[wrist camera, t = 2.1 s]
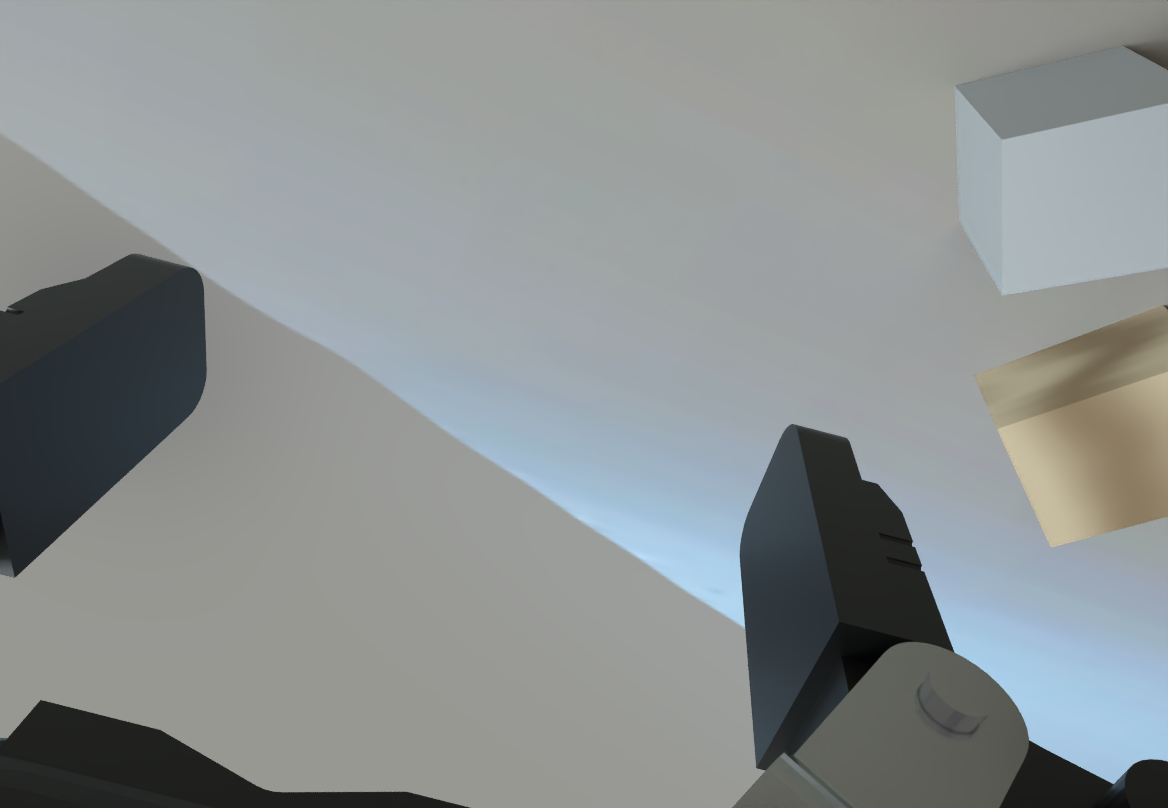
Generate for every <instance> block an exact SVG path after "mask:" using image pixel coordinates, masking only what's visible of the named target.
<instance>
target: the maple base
mask: <svg viewBox="0 0 1168 808" xmlns="http://www.w3.org/2000/svg"><path fill="white" fill-rule="evenodd" d="M974 377H975V379H976V382H977V384H978V386H979V388H980V391H981V393H982V395H983V398H984V400H985V402H986V405H987V407H988V409H989V411H990V414H991V416H992V418H993V421H994V423H995V425H996V428H997V430H998V432H999V434H1000V436H1001V439H1002V441H1003V443H1004V445H1005V447H1006V450H1007V452H1008V454H1009V456H1010V458H1011V461H1012V463H1013V465H1014V467H1015V469H1016V472H1017V474H1018V476H1019V478H1020V480H1021V483H1022V485H1023V487H1024V489H1025V491H1026V494H1027V496H1028V498H1029V500H1030V502H1031V505H1032V507H1033V509H1034V511H1035V513H1036V516H1037V518H1038V520H1039V522H1040V524H1041V527H1042V529H1043V531H1044V533H1045V535H1046V538H1047V540H1048V542H1049V544H1050V547H1055V546H1059V545H1063V544H1066V543H1070V542H1074V541H1078V540H1081V539H1085V538H1089V537H1093V536H1096V535H1100V534H1104V533H1107V532H1111V531H1115V530H1119V529H1122V528H1126V527H1130V526H1134V525H1137V524H1141V523H1145V522H1149V521H1152V520H1156V519H1160V518H1164V517H1167V516H1168V310H1167V309H1166V308H1165V307H1164V305H1162V306H1160V307H1157V308H1154V309H1152V310H1149V311H1146V312H1144V313H1141V314H1138V315H1135V316H1133V317H1130V318H1127V319H1125V320H1122V321H1119V322H1117V323H1114V324H1111V325H1109V326H1106V327H1103V328H1100V329H1098V330H1095V331H1092V332H1090V333H1087V334H1084V335H1082V336H1079V337H1076V338H1073V339H1071V340H1068V341H1065V342H1063V343H1060V344H1057V345H1055V346H1052V347H1049V348H1046V349H1044V350H1041V351H1038V352H1036V353H1033V354H1030V355H1028V356H1025V357H1022V358H1020V359H1017V360H1014V361H1011V362H1009V363H1006V364H1003V365H1001V366H998V367H995V368H993V369H990V370H987V371H984V372H982V373H979V374H976V375H974Z"/></svg>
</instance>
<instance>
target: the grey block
mask: <svg viewBox="0 0 1168 808" xmlns="http://www.w3.org/2000/svg"><path fill="white" fill-rule="evenodd" d="M955 106H956V136H957V166H958V195H959V222H960V223H961V225H962V227H963V228H964V230H965V232H966V234H967V235H968V237H969V239H970V241H971V242H972V244H973V246H974V247H975V249H976V251H977V253H978V254H979V256H980V258H981V260H982V261H983V263H984V265H985V267H986V268H987V270H988V272H989V273H990V275H991V277H992V279H993V280H994V282H995V284H996V286H997V287H998V289H999V291H1000V292H1001V294H1002V295H1008V294H1014V293H1020V292H1026V291H1032V290H1038V289H1044V288H1050V287H1056V286H1062V285H1068V284H1074V283H1080V282H1086V281H1092V280H1098V279H1104V278H1110V277H1116V276H1122V275H1128V274H1134V273H1140V272H1146V271H1152V270H1158V269H1164V268H1168V70H1167V69H1165V68H1163V67H1161V66H1159V65H1158V64H1156V63H1154V62H1152V61H1150V60H1148V59H1146V58H1145V57H1143V56H1141V55H1139V54H1137V53H1135V52H1133V51H1132V50H1130V49H1128V48H1126V47H1124V46H1119V47H1115V48H1110V49H1106V50H1102V51H1098V52H1094V53H1090V54H1086V55H1082V56H1077V57H1073V58H1069V59H1065V60H1061V61H1057V62H1053V63H1048V64H1044V65H1040V66H1036V67H1032V68H1028V69H1024V70H1020V71H1015V72H1011V73H1007V74H1003V75H999V76H995V77H991V78H987V79H982V80H978V81H974V82H970V83H966V84H962V85H958V86H955Z"/></svg>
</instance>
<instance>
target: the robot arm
mask: <svg viewBox="0 0 1168 808" xmlns="http://www.w3.org/2000/svg"><path fill="white" fill-rule="evenodd" d="M206 370H207V369H206V340H205V310H204V288H203V282H202V279H201V276H200V274H199V273H198V272H197V271H196V270H195V269H193V268H191V267H187V266H183V265H179V264H175V263H171V262H168V261H163V260H160V259H156V258H152V257H148V256H144V255H140V254H131V255H128V256H126V257H124V258H123V259H121V260H119V261H117V262H115V263H113V264H111V265H110V266H108V267H106V268H104V269H102V270H100V271H98V272H97V273H95V274H93V275H91V276H89V277H87V278H85V279H81V280H77V281H73V282H69V283H65V284H61V285H57V286H53V287H49V288H45V289H41V290H39V291H37V292H35V293H33V294H31V295H29V296H27V297H25V298H24V299H22V300H20V301H18V302H16V303H14V304H12V305H10V306H8V307H7V310H6V312H3V311H0V574H2V575H6V576H10V577H13V578H15V577H16V576H17V575H18V574H19V573H21V572H22V571H23V570H24V569H25V568H26V567H27V566H28V565H29V564H30V563H31V562H32V561H33V560H34V559H36V557H38V556H39V555H40V554H41V553H42V552H43V551H44V550H45V549H46V548H47V547H49V546H50V545H51V544H52V543H53V542H54V541H55V540H56V539H57V538H58V537H59V536H60V535H61V534H62V533H64V532H65V531H66V530H67V529H68V528H69V527H70V526H71V525H72V524H73V523H74V522H75V521H77V520H78V519H79V518H80V517H81V516H82V515H83V514H84V513H85V512H86V511H87V510H88V509H89V508H90V507H92V506H93V505H94V504H95V503H96V502H97V501H98V500H99V499H100V498H101V497H102V496H103V495H105V494H106V492H108V491H109V490H110V489H111V488H112V487H113V486H114V485H115V484H116V483H117V482H118V481H120V479H122V478H123V477H124V476H125V475H126V474H127V473H128V472H129V471H130V470H131V469H133V468H134V467H135V466H136V465H137V464H138V463H139V462H140V461H141V460H142V459H143V458H144V457H145V456H147V455H148V454H149V453H150V452H151V451H152V450H153V449H154V448H155V447H156V446H157V445H158V444H159V443H160V442H162V440H164V439H165V438H166V437H167V436H168V435H169V434H170V433H171V432H172V431H173V430H174V429H175V428H176V427H178V426H179V425H180V424H181V423H182V422H183V421H184V420H185V419H186V418H187V417H188V416H189V415H190V414H191V413H192V412H193V411H194V409H195V408H196V406H197V404H198V402H199V400H200V398H201V395H202V393H203V389H204V386H205V381H206ZM912 542H913V540H912V538H911V535H910V532H909V530H908V527H907V524H906V522H905V519H904V516H903V514H902V512H901V511H900V509H899V508H898V507H897V506H896V505H895V504H894V502H893V501H892V500H891V499H890V498H889V497H888V496H887V494H886V493H885V492H884V491H883V490H882V489H881V487H880V486H879V485H878V484H876V483H872V482H868V481H864V480H862V479H861V476H860V473H859V470H858V467H857V463H856V460H855V457H854V454H853V451H852V448H851V445H850V442H849V440H848V439H847V438H845V437H841V436H837V435H833V434H829V433H825V432H821V431H818V430H814V429H810V428H806V427H802V426H798V425H794V424H791V425H789V426H788V427H787V428H786V430H785V431H784V433H783V434H782V436H781V438H780V441H779V443H778V445H777V447H776V450H775V452H774V454H773V457H772V459H771V461H770V464H769V466H768V468H767V471H766V473H765V475H764V477H763V480H762V482H761V484H760V487H759V489H758V491H757V494H756V496H755V498H754V501H753V503H752V505H751V507H750V510H749V512H748V515H747V518H746V521H745V524H744V528H743V532H742V538H741V544H740V567H741V579H742V592H743V605H744V617H745V630H746V643H747V654H748V667H749V680H750V692H751V705H752V718H753V731H754V743H755V756H756V768H758V769H762V770H766V771H765V772H764V773H763V774H762V776H760V778H759V779H758V780H757V781H756V782H755V783H754V784H753V785H752V787H751V788H750V789H749V790H748V791H747V792H746V793H745V794H744V795H743V796H742V797H741V798H740V800H739V801H738V802H737V803H736V804H735V805H734V806H733V807H732V808H1168V762H1167V761H1163V760H1153V759H1149V760H1142V761H1139V762H1137V763H1135V764H1133V765H1132V766H1131V767H1130V768H1129V769H1128V770H1127V771H1126V772H1125V773H1124V774H1123V775H1122V776H1121V777H1120V778H1119V779H1118V780H1117V782H1116V783H1115V784H1112V783H1110V782H1108V781H1106V780H1104V779H1102V778H1100V777H1098V776H1096V775H1094V774H1092V773H1091V772H1089V771H1087V770H1085V769H1083V768H1081V767H1079V766H1077V765H1075V764H1073V763H1071V762H1069V761H1067V760H1065V759H1063V758H1061V757H1059V756H1057V755H1055V754H1053V753H1051V752H1050V751H1048V750H1046V749H1044V748H1042V747H1040V746H1038V745H1037V744H1035V743H1033V742H1031V741H1029V737H1028V732H1027V727H1026V725H1025V722H1024V719H1023V717H1022V715H1021V713H1020V712H1019V710H1018V708H1017V706H1016V705H1015V703H1014V702H1013V701H1012V699H1011V698H1010V697H1009V695H1008V694H1007V693H1006V692H1005V691H1004V690H1003V688H1002V687H1001V686H1000V685H999V684H998V683H997V682H996V681H995V680H994V679H992V678H991V677H990V676H989V675H988V674H987V673H986V672H984V671H983V670H982V669H980V668H979V667H978V666H976V665H975V664H973V663H972V662H970V661H969V660H967V659H965V658H964V657H962V656H960V655H958V654H956V653H954V650H953V647H952V645H951V642H950V639H949V637H948V634H947V631H946V629H945V626H944V623H943V621H942V618H941V615H940V613H939V610H938V607H937V605H936V602H935V599H934V597H933V594H932V591H931V589H930V586H929V583H928V581H927V578H926V575H925V573H924V572H923V571H921V566H922V564H921V562H920V559H919V556H918V554H917V551H916V548H915V547H912ZM0 808H469V807H465V806H461V805H457V804H453V803H449V802H445V801H441V800H437V799H433V798H429V797H425V796H421V795H417V794H413V793H409V792H298V793H297V792H291V793H290V792H284V793H283V792H272V791H269V790H264V789H262V788H260V787H258V786H256V785H254V784H252V783H251V782H249V781H247V780H245V779H244V778H242V777H240V776H239V775H237V774H235V773H233V772H232V771H230V770H228V769H227V768H225V767H223V766H221V765H220V764H218V763H216V762H214V761H213V760H211V759H209V758H207V757H206V756H204V755H202V754H201V753H199V752H197V751H196V750H194V749H192V748H190V747H189V746H187V745H185V744H183V743H181V742H180V741H178V740H177V739H175V738H173V737H171V736H169V735H168V734H166V733H165V732H163V731H161V730H158V729H154V728H150V727H146V726H142V725H138V724H134V723H130V722H126V721H122V720H118V719H114V718H110V717H106V716H102V715H98V714H94V713H90V712H86V711H82V710H78V709H74V708H70V707H66V706H62V705H58V704H54V703H50V702H46V701H42V700H40V702H39V703H38V704H37V705H36V706H35V707H34V709H33V710H32V711H31V712H30V713H29V714H28V715H27V717H26V718H25V719H24V720H23V721H22V722H21V724H20V725H19V726H18V727H17V728H16V729H15V730H14V732H13V733H12V734H11V735H10V736H9V738H0Z"/></svg>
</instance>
